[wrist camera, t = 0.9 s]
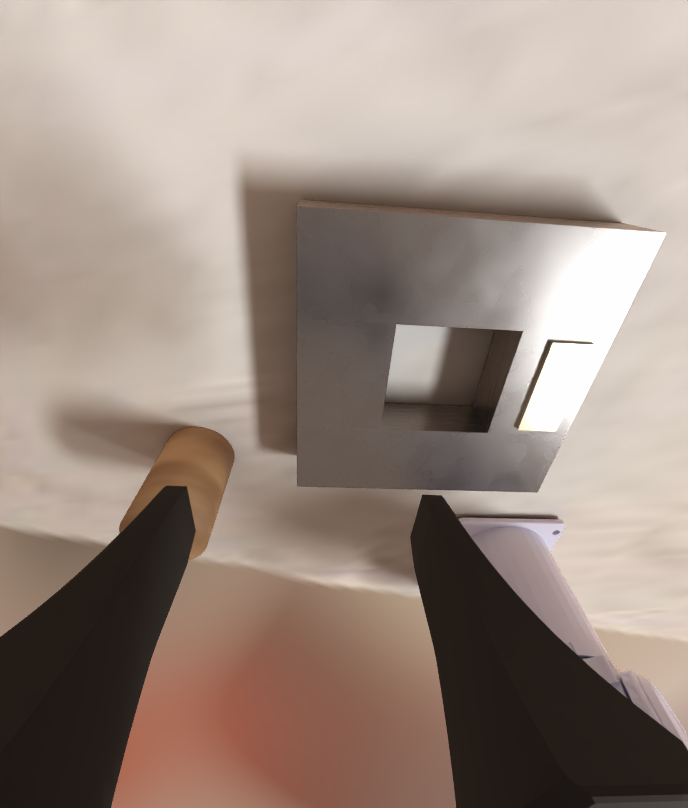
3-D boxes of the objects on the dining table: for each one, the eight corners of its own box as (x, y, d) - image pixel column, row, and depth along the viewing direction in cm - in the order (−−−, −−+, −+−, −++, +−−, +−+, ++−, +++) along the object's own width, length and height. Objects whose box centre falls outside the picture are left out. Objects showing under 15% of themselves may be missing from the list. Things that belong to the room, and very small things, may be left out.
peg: (237, 478, 24) (212, 562, 19) (173, 476, 24) (131, 561, 19) (231, 428, 22) (201, 508, 17) (160, 425, 22) (109, 506, 16)
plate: (519, 463, 24) (539, 494, 22) (300, 456, 23) (296, 489, 21) (623, 223, 16) (670, 233, 14) (301, 199, 15) (296, 206, 13)
